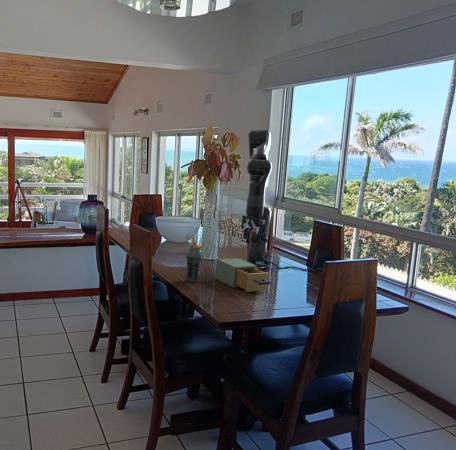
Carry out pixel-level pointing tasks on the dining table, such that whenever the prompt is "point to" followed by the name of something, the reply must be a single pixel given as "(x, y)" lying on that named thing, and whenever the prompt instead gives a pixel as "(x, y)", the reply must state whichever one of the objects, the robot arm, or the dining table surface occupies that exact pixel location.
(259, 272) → the drawer
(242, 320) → the dining table surface
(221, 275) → the cabinet
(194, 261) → the beverage cup
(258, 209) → the robot arm
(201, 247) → the orange bird figurine
